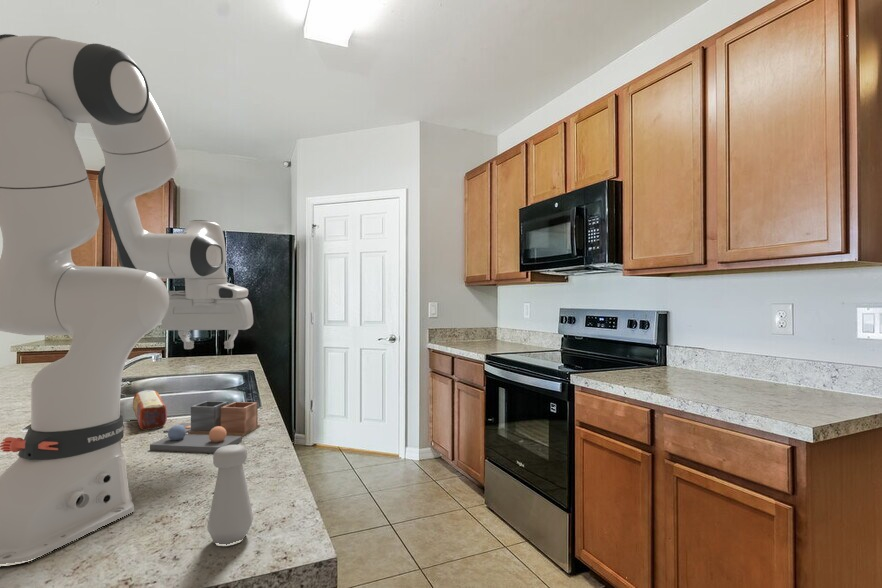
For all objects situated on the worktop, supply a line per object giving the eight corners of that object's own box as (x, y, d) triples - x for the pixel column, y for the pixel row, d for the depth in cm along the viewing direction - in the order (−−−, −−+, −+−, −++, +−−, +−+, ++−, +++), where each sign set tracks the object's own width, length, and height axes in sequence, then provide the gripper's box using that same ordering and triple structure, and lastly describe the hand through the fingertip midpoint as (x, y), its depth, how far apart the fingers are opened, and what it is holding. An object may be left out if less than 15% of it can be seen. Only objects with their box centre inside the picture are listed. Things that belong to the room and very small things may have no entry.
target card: (185, 432, 113) (185, 431, 113) (163, 431, 114) (163, 430, 114) (203, 424, 120) (203, 423, 120) (182, 424, 121) (182, 422, 121)
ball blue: (178, 443, 102) (178, 427, 102) (164, 442, 103) (164, 427, 103) (189, 438, 106) (189, 423, 106) (175, 438, 106) (175, 422, 106)
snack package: (168, 427, 118) (168, 401, 118) (137, 432, 114) (137, 405, 114) (159, 411, 135) (159, 388, 135) (132, 414, 131) (132, 391, 131)
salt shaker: (259, 528, 67) (259, 440, 67) (243, 550, 61) (243, 454, 61) (218, 529, 67) (218, 440, 67) (199, 551, 61) (199, 454, 61)
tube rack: (242, 436, 110) (242, 409, 110) (187, 434, 112) (187, 407, 112) (259, 426, 118) (259, 401, 118) (208, 425, 120) (208, 400, 120)
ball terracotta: (220, 445, 101) (220, 429, 101) (205, 444, 101) (205, 428, 101) (229, 440, 105) (229, 424, 105) (215, 439, 105) (215, 424, 105)
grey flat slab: (221, 453, 99) (221, 447, 99) (149, 449, 101) (149, 444, 101) (241, 441, 107) (241, 436, 107) (175, 438, 108) (175, 433, 108)
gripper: (154, 291, 104) (156, 351, 105) (244, 291, 104) (246, 350, 105) (169, 290, 110) (172, 346, 111) (254, 289, 110) (256, 345, 111)
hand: (209, 348), depth 108 cm, fingers open, 8 cm apart
